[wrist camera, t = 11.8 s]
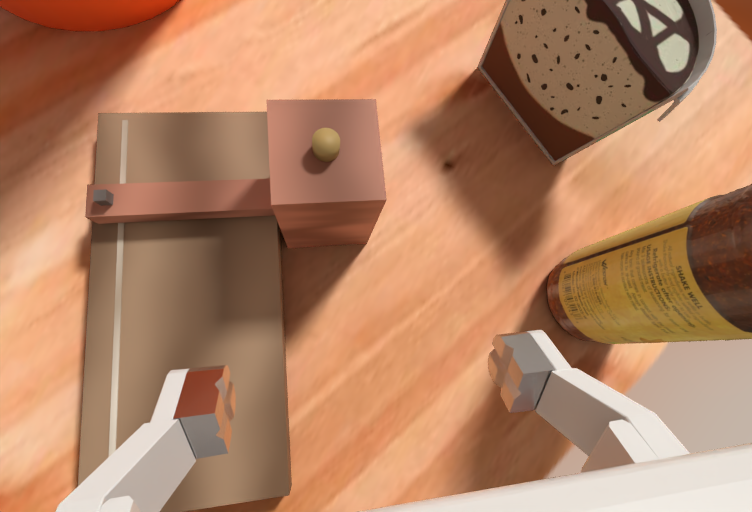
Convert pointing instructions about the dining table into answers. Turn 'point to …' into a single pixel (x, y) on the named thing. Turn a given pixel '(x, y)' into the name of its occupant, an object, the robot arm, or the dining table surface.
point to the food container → (595, 64)
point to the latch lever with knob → (279, 180)
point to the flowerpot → (87, 12)
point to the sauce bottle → (663, 278)
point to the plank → (188, 304)
